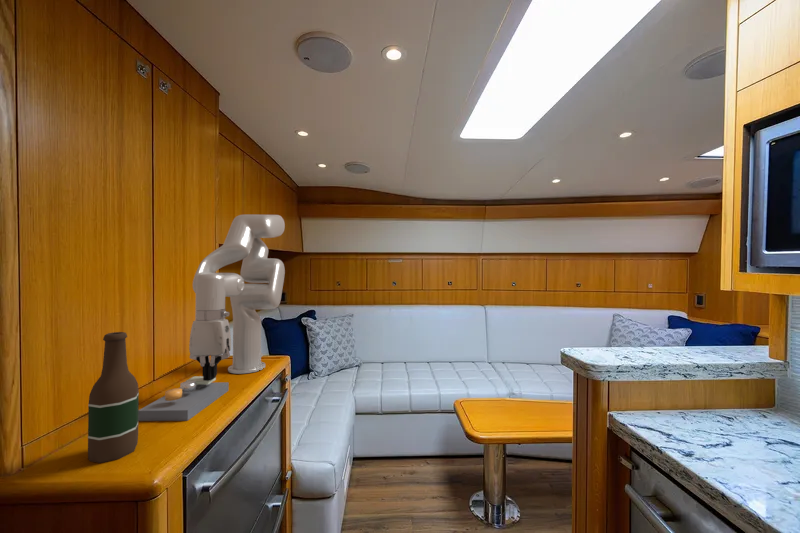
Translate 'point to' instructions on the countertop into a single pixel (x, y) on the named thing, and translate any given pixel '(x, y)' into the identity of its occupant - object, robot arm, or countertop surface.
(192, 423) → the countertop surface
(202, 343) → the robot arm
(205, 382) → the block
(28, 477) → the countertop surface
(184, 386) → the button metal
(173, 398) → the button orange
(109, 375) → the beer bottle
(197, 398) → the panel
